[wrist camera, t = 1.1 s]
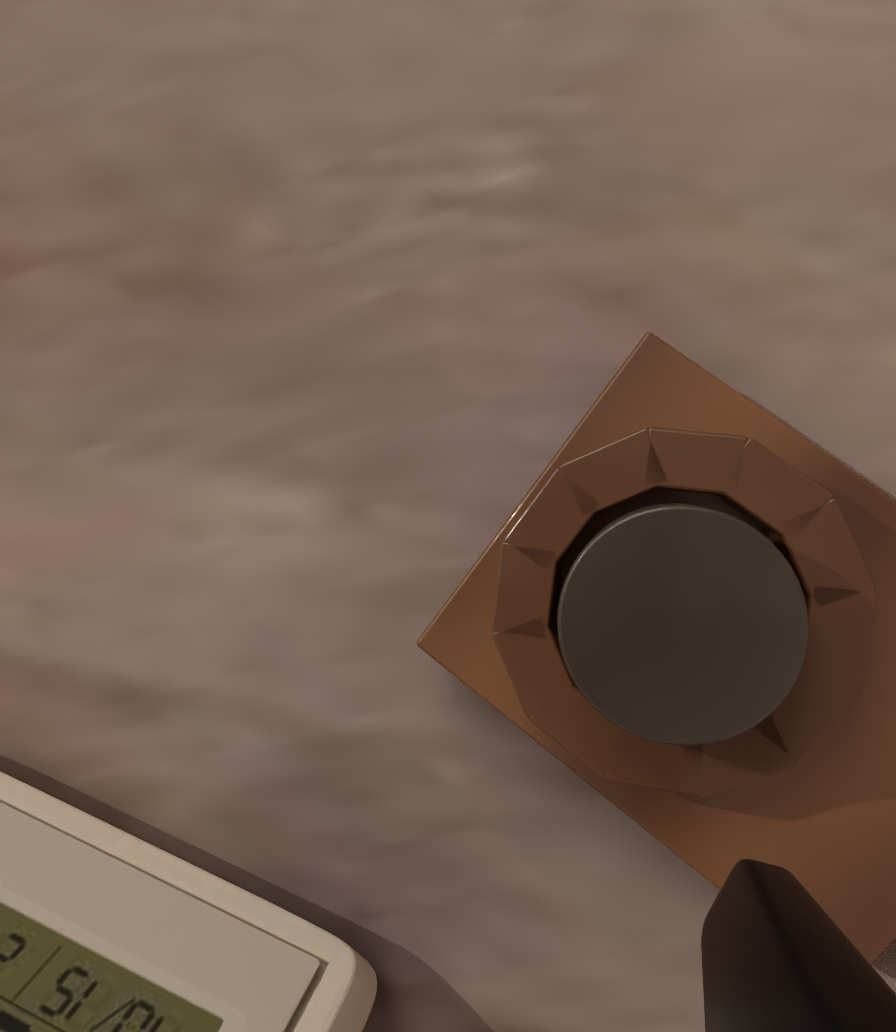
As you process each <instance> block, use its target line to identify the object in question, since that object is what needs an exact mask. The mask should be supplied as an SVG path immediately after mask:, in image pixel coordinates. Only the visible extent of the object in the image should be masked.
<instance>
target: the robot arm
mask: <svg viewBox="0 0 896 1032" xmlns="http://www.w3.org/2000/svg"><path fill="white" fill-rule="evenodd" d="M701 950H702V970H703V990H704V1011H705V1031H706V1032H896V994H895V992H894V991H893V990H892V989H891V988H890V987H889V985H888V984H887V983H886V982H885V981H884V980H883V979H882V977H881V976H880V975H879V974H878V973H877V972H876V970H875V969H874V968H873V967H872V966H871V965H870V963H869V962H868V961H867V960H866V959H865V958H864V956H863V955H862V954H861V953H860V952H859V951H858V949H857V948H856V947H855V946H854V945H853V944H852V943H851V941H850V940H849V939H848V938H847V937H846V936H845V934H844V933H843V932H842V931H841V930H840V929H839V927H838V926H837V925H836V924H835V923H834V922H833V920H832V919H831V918H830V917H829V916H828V915H827V913H826V912H825V911H824V910H823V909H822V908H821V906H820V905H819V904H818V903H817V902H816V901H815V900H814V898H813V897H812V896H811V895H810V894H809V893H808V891H807V890H806V889H805V888H804V887H803V886H802V884H801V883H800V882H799V881H798V880H797V879H796V877H795V876H794V875H793V874H792V873H791V872H789V871H788V870H787V869H784V868H782V867H780V866H776V865H772V864H768V863H764V862H760V861H756V860H752V859H742V860H740V861H739V862H737V863H736V864H735V866H734V867H733V868H732V870H731V872H730V874H729V875H728V877H727V879H726V881H725V883H724V885H723V886H722V888H721V890H720V892H719V894H718V896H717V897H716V899H715V901H714V903H713V905H712V907H711V908H710V910H709V912H708V914H707V916H706V918H705V922H704V925H703V930H702V939H701Z"/></svg>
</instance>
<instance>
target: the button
mask: <svg viewBox="0 0 896 1032" xmlns="http://www.w3.org/2000/svg"><path fill="white" fill-rule="evenodd" d="M557 629H558V640H559V644H560V649H561V654H562V657H563V659H564V662H565V665H566V668H567V670H568V672H569V674H570V676H571V678H572V680H573V682H574V683H575V685H576V686H577V688H578V689H579V691H580V692H581V694H582V695H583V696H584V698H585V699H586V700H587V701H588V702H589V703H590V704H591V706H592V707H593V708H594V709H595V710H597V711H598V712H599V713H600V714H601V715H602V716H603V717H604V718H606V719H607V720H609V721H610V722H612V723H613V724H614V725H616V726H617V727H619V728H621V729H623V730H625V731H627V732H629V733H631V734H632V735H635V736H638V737H640V738H643V739H646V740H649V741H653V742H657V743H661V744H668V745H676V746H698V745H705V744H712V743H716V742H720V741H724V740H727V739H730V738H732V737H735V736H737V735H740V734H742V733H744V732H746V731H748V730H749V729H751V728H753V727H754V726H756V725H758V724H759V723H760V722H762V721H763V720H764V719H765V718H767V717H768V716H769V715H771V714H772V713H773V711H774V710H775V709H776V708H777V707H778V706H779V705H780V704H781V703H782V702H783V701H784V699H785V698H786V697H787V695H788V694H789V692H790V691H791V690H792V688H793V686H794V684H795V682H796V680H797V678H798V677H799V674H800V672H801V669H802V666H803V663H804V661H805V656H806V651H807V647H808V636H809V621H808V611H807V606H806V601H805V597H804V594H803V591H802V588H801V586H800V583H799V580H798V578H797V576H796V575H795V573H794V571H793V569H792V567H791V565H790V564H789V563H788V561H787V560H786V558H785V557H784V556H783V554H782V553H781V552H780V551H779V549H778V548H777V547H776V546H775V545H774V544H773V543H772V542H771V541H770V540H769V539H768V538H767V537H765V536H764V535H763V534H762V533H760V532H759V531H758V530H757V529H755V528H754V527H752V526H750V525H749V524H747V523H746V522H744V521H742V520H740V519H738V518H736V517H734V516H731V515H729V514H727V513H724V512H721V511H718V510H714V509H711V508H707V507H703V506H698V505H693V504H686V503H664V504H656V505H651V506H646V507H642V508H639V509H636V510H633V511H631V512H628V513H626V514H624V515H622V516H620V517H618V518H617V519H615V520H614V521H612V522H611V523H609V524H608V525H606V526H605V527H604V528H603V529H602V530H600V531H599V532H598V533H597V534H596V535H595V536H594V537H593V538H592V539H591V541H590V542H589V543H588V544H587V545H586V546H585V548H584V549H583V550H582V551H581V553H580V554H579V556H578V557H577V559H576V560H575V562H574V563H573V565H572V566H571V569H570V571H569V573H568V575H567V577H566V579H565V582H564V585H563V588H562V591H561V594H560V600H559V605H558V616H557Z"/></svg>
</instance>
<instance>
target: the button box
mask: <svg viewBox="0 0 896 1032" xmlns="http://www.w3.org/2000/svg"><path fill="white" fill-rule="evenodd" d="M664 503H686V504H693V505H698V506H703V507H707V508H711V509H714V510H718V511H721V512H724V513H727V514H729V515H731V516H734V517H736V518H738V519H740V520H742V521H744V522H746V523H747V524H749V525H750V526H752V527H754V528H755V529H757V530H758V531H759V532H760V533H762V534H763V535H764V536H765V537H767V538H768V539H769V540H770V541H771V542H772V543H773V544H774V545H775V546H776V547H777V548H778V549H779V551H780V552H781V553H782V554H783V556H784V557H785V558H786V560H787V561H788V563H789V564H790V565H791V567H792V569H793V571H794V573H795V575H796V576H797V578H798V580H799V583H800V586H801V588H802V591H803V594H804V597H805V601H806V606H807V611H808V621H809V636H808V647H807V651H806V656H805V661H804V663H803V666H802V669H801V672H800V674H799V677H798V678H797V680H796V682H795V684H794V686H793V688H792V690H791V691H790V692H789V694H788V695H787V697H786V698H785V699H784V701H783V702H782V703H781V704H780V705H779V706H778V707H777V708H776V709H775V710H774V711H773V713H772V714H771V715H769V716H768V717H767V718H765V719H764V720H763V721H762V722H760V723H759V724H758V725H756V726H754V727H753V728H751V729H749V730H748V731H746V732H744V733H742V734H740V735H737V736H735V737H732V738H730V739H727V740H724V741H720V742H716V743H712V744H705V745H698V746H676V745H668V744H661V743H657V742H653V741H649V740H646V739H643V738H640V737H638V736H635V735H632V734H631V733H629V732H627V731H625V730H623V729H621V728H619V727H617V726H616V725H614V724H613V723H612V722H610V721H609V720H607V719H606V718H604V717H603V716H602V715H601V714H600V713H599V712H598V711H597V710H595V709H594V708H593V707H592V706H591V704H590V703H589V702H588V701H587V700H586V699H585V698H584V696H583V695H582V694H581V692H580V691H579V689H578V688H577V686H576V685H575V683H574V682H573V680H572V678H571V676H570V674H569V672H568V670H567V668H566V665H565V662H564V659H563V657H562V654H561V649H560V644H559V640H558V629H557V616H558V605H559V600H560V594H561V591H562V588H563V585H564V582H565V579H566V577H567V575H568V573H569V571H570V569H571V566H572V565H573V563H574V562H575V560H576V559H577V557H578V556H579V554H580V553H581V551H582V550H583V549H584V548H585V546H586V545H587V544H588V543H589V542H590V541H591V539H592V538H593V537H594V536H595V535H596V534H597V533H598V532H599V531H600V530H602V529H603V528H604V527H605V526H606V525H608V524H609V523H611V522H612V521H614V520H615V519H617V518H618V517H620V516H622V515H624V514H626V513H628V512H631V511H633V510H636V509H639V508H642V507H646V506H651V505H656V504H664ZM417 645H418V647H420V648H421V649H422V650H423V651H425V652H426V653H427V654H428V655H430V656H431V657H432V658H433V659H435V660H436V661H437V662H438V663H440V664H441V665H442V666H443V667H444V668H446V669H447V670H448V671H449V672H451V673H452V674H453V675H454V676H456V677H457V678H458V679H459V680H461V681H462V682H463V683H464V684H466V685H467V686H468V687H469V688H471V689H472V690H473V691H474V692H475V693H477V694H478V695H479V696H480V697H482V698H483V699H484V700H485V701H487V702H488V703H489V704H490V705H492V706H493V707H494V708H495V709H497V710H498V711H499V712H500V713H502V714H503V715H504V716H505V717H506V718H508V719H509V720H510V721H511V722H513V723H514V724H515V725H516V726H518V727H519V728H520V729H521V730H523V731H524V732H525V733H526V734H528V735H529V736H530V737H531V738H533V739H534V740H535V741H536V742H538V743H539V744H540V745H541V746H542V747H544V748H545V749H546V750H547V751H549V752H550V753H551V754H552V755H554V756H555V757H556V758H557V759H559V760H560V761H561V762H562V763H564V764H565V765H566V766H567V767H569V768H570V769H571V770H572V771H573V772H575V773H576V774H577V775H578V776H580V777H581V778H582V779H583V780H585V781H586V782H587V783H588V784H590V785H591V786H592V787H593V788H595V789H596V790H597V791H598V792H600V793H601V794H602V795H603V796H605V797H606V798H607V799H608V800H609V801H611V802H612V803H613V804H614V805H616V806H617V807H618V808H619V809H621V810H622V811H623V812H624V813H626V814H627V815H628V816H629V817H631V818H632V819H633V820H634V821H636V822H637V823H638V824H639V825H640V826H642V827H643V828H644V829H645V830H647V831H648V832H649V833H650V834H652V835H653V836H654V837H655V838H657V839H658V840H659V841H660V842H662V843H663V844H664V845H665V846H667V847H668V848H669V849H670V850H672V851H673V852H674V853H675V854H676V855H678V856H679V857H680V858H681V859H683V860H684V861H685V862H686V863H688V864H689V865H690V866H691V867H693V868H694V869H695V870H696V871H698V872H699V873H700V874H701V875H703V876H704V877H705V878H706V879H707V880H709V881H710V882H711V883H712V884H714V885H715V886H716V887H717V888H719V889H720V890H721V888H722V886H723V885H724V883H725V881H726V879H727V877H728V875H729V874H730V872H731V870H732V868H733V867H734V866H735V864H736V863H737V862H739V861H740V860H742V859H752V860H756V861H760V862H764V863H768V864H772V865H776V866H780V867H782V868H784V869H787V870H788V871H789V872H791V873H792V874H793V875H794V876H795V877H796V879H797V880H798V881H799V882H800V883H801V884H802V886H803V887H804V888H805V889H806V890H807V891H808V893H809V894H810V895H811V896H812V897H813V898H814V900H815V901H816V902H817V903H818V904H819V905H820V906H821V908H822V909H823V910H824V911H825V912H826V913H827V915H828V916H829V917H830V918H831V919H832V920H833V922H834V923H835V924H836V925H837V926H838V927H839V929H840V930H841V931H842V932H843V933H844V934H845V936H846V937H847V938H848V939H849V940H850V941H851V943H852V944H853V945H854V946H855V947H856V948H857V949H858V951H859V952H860V953H861V954H862V955H863V956H864V958H865V959H866V960H867V961H868V962H869V963H870V965H871V964H872V963H873V962H874V961H875V960H876V959H877V958H878V957H879V956H880V955H881V954H882V953H883V952H884V950H885V949H886V948H887V947H888V946H889V945H890V944H891V943H892V942H893V941H894V940H895V939H896V501H895V500H894V499H892V498H891V497H889V496H888V495H887V494H885V493H884V492H882V491H881V490H879V489H878V488H876V487H875V486H873V485H872V484H871V483H869V482H868V481H866V480H865V479H863V478H862V477H860V476H859V475H857V474H856V473H855V472H853V471H852V470H850V469H849V468H847V467H846V466H844V465H843V464H841V463H840V462H839V461H837V460H836V459H834V458H833V457H831V456H830V455H828V454H827V453H825V452H824V451H823V450H821V449H820V448H818V447H817V446H815V445H814V444H812V443H811V442H809V441H808V440H807V439H805V438H804V437H802V436H801V435H799V434H798V433H796V432H795V431H793V430H792V429H791V428H789V427H788V426H786V425H785V424H783V423H782V422H780V421H779V420H777V419H776V418H775V417H773V416H772V415H770V414H769V413H767V412H766V411H764V410H763V409H761V408H760V407H759V406H757V405H756V404H754V403H753V402H751V401H750V400H748V399H747V398H745V397H744V396H743V395H741V394H740V393H738V392H737V391H735V390H734V389H732V388H731V387H729V386H728V385H727V384H725V383H724V382H722V381H721V380H719V379H718V378H716V377H715V376H713V375H712V374H711V373H709V372H708V371H706V370H705V369H703V368H702V367H700V366H699V365H697V364H696V363H695V362H693V361H692V360H690V359H689V358H687V357H686V356H684V355H683V354H681V353H680V352H679V351H677V350H676V349H674V348H673V347H671V346H670V345H668V344H667V343H665V342H664V341H663V340H661V339H660V338H658V337H657V336H655V335H654V334H652V333H650V332H648V333H646V334H645V335H644V336H643V338H642V339H641V340H640V342H639V343H638V344H637V346H636V347H635V348H634V350H633V351H632V353H631V354H630V355H629V357H628V358H627V359H626V361H625V362H624V363H623V365H622V366H621V367H620V369H619V370H618V371H617V373H616V374H615V375H614V377H613V378H612V379H611V381H610V382H609V383H608V385H607V386H606V388H605V389H604V390H603V392H602V393H601V394H600V396H599V397H598V398H597V400H596V401H595V402H594V404H593V405H592V406H591V408H590V409H589V410H588V412H587V413H586V414H585V416H584V417H583V418H582V420H581V421H580V423H579V424H578V425H577V427H576V428H575V429H574V431H573V432H572V433H571V435H570V436H569V437H568V439H567V440H566V441H565V443H564V444H563V445H562V447H561V448H560V449H559V451H558V452H557V453H556V455H555V456H554V458H553V459H552V460H551V462H550V463H549V464H548V466H547V467H546V468H545V470H544V471H543V472H542V474H541V475H540V476H539V478H538V479H537V480H536V482H535V483H534V484H533V486H532V487H531V488H530V490H529V491H528V493H527V494H526V495H525V497H524V498H523V499H522V501H521V502H520V503H519V505H518V506H517V507H516V509H515V510H514V511H513V513H512V514H511V515H510V517H509V518H508V519H507V521H506V522H505V523H504V525H503V526H502V528H501V529H500V530H499V532H498V533H497V534H496V536H495V537H494V538H493V540H492V541H491V542H490V544H489V545H488V546H487V548H486V549H485V550H484V552H483V553H482V554H481V556H480V557H479V558H478V560H477V561H476V563H475V564H474V565H473V567H472V568H471V569H470V571H469V572H468V573H467V575H466V576H465V577H464V579H463V580H462V581H461V583H460V584H459V585H458V587H457V588H456V589H455V591H454V592H453V593H452V595H451V596H450V598H449V599H448V600H447V602H446V603H445V604H444V606H443V607H442V608H441V610H440V611H439V612H438V614H437V615H436V616H435V618H434V619H433V620H432V622H431V623H430V624H429V626H428V627H427V628H426V630H425V631H424V633H423V634H422V635H421V637H420V638H419V639H418V641H417Z"/></svg>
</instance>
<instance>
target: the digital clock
mask: <svg viewBox="0 0 896 1032" xmlns="http://www.w3.org/2000/svg"><path fill="white" fill-rule="evenodd" d="M376 992H377V978H376V973H375V971H374V969H373V968H372V967H371V965H370V964H369V962H368V961H367V960H366V959H364V958H363V957H362V956H361V955H360V954H359V953H357V952H356V951H355V950H354V949H353V948H351V947H350V946H349V945H348V944H346V943H345V942H344V941H342V940H341V939H339V938H337V937H336V936H334V935H332V934H331V933H329V932H327V931H325V930H323V929H321V928H319V927H317V926H316V925H314V924H312V923H310V922H308V921H306V920H304V919H302V918H300V917H298V916H296V915H294V914H292V913H290V912H288V911H286V910H284V909H282V908H280V907H278V906H276V905H275V904H273V903H271V902H269V901H267V900H265V899H262V898H260V897H258V896H256V895H254V894H252V893H250V892H248V891H246V890H244V889H242V888H240V887H238V886H236V885H234V884H232V883H230V882H227V881H225V880H223V879H221V878H219V877H217V876H215V875H213V874H211V873H209V872H207V871H205V870H203V869H201V868H199V867H197V866H195V865H192V864H190V863H188V862H186V861H184V860H182V859H180V858H178V857H176V856H174V855H172V854H170V853H168V852H166V851H164V850H162V849H160V848H158V847H155V846H153V845H151V844H149V843H147V842H145V841H143V840H141V839H139V838H137V837H135V836H133V835H131V834H129V833H127V832H125V831H123V830H120V829H118V828H116V827H114V826H112V825H110V824H108V823H106V822H104V821H102V820H100V819H98V818H96V817H94V816H92V815H90V814H88V813H85V812H83V811H81V810H79V809H77V808H75V807H73V806H71V805H69V804H67V803H65V802H63V801H61V800H59V799H57V798H55V797H53V796H51V795H48V794H46V793H44V792H42V791H40V790H38V789H36V788H34V787H32V786H30V785H28V784H26V783H23V782H21V781H19V780H17V779H15V778H13V777H11V776H9V775H7V774H5V773H3V772H0V1032H362V1031H363V1029H364V1027H365V1024H366V1022H367V1019H368V1017H369V1014H370V1012H371V1009H372V1006H373V1004H374V1000H375V996H376Z"/></svg>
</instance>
